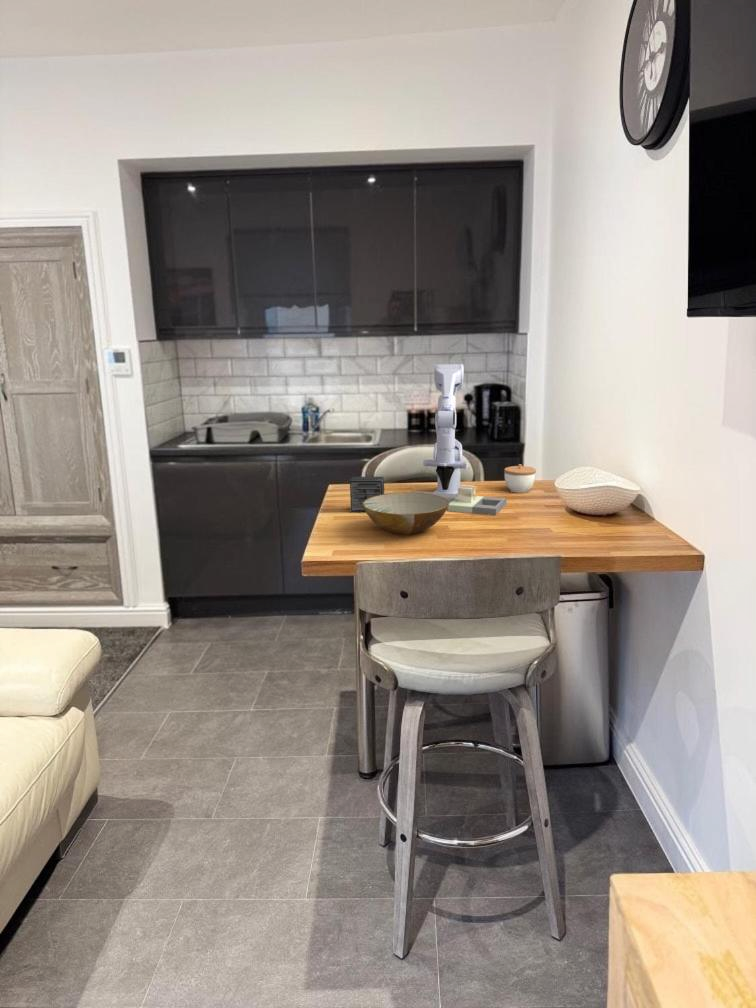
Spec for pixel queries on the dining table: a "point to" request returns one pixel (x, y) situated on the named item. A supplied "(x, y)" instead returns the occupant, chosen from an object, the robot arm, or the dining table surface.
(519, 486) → the lidded jar
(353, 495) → the small box
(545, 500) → the dining table surface
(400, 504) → the bowl
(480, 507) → the plate
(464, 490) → the block
